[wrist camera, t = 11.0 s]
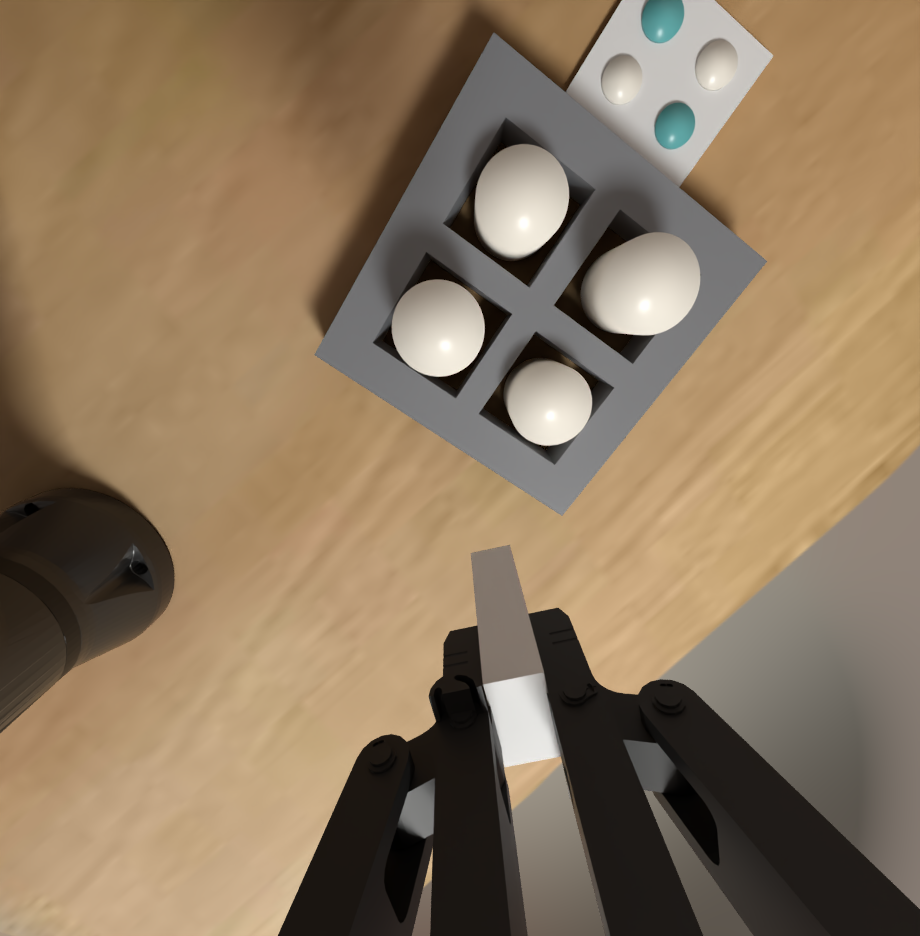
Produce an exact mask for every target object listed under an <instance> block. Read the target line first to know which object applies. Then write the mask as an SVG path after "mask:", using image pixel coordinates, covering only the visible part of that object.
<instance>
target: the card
mask: <svg viewBox="0 0 920 936" xmlns="http://www.w3.org/2000/svg"><path fill="white" fill-rule="evenodd" d="M772 57H773V55H772V54H771V53H770V52H769V51H768V50H767V49H766V48H765V47H764V46H763V45H761V44H760V43H759V42H758V41H757V40H756V39H755V38H754V37H753V36H752V35H751V34H750V33H749V32H748V31H747V30H745V29H744V28H743V27H742V26H741V25H740V24H739V23H738V22H737V21H736V20H735V19H734V18H733V17H732V16H731V15H730V14H728V13H727V12H726V11H725V10H724V9H723V8H722V7H721V6H720V5H719V4H718V3H717V2H716V1H715V0H622V1H621V3H620V4H619V6H618V8H617V9H616V11H615V12H614V14H613V16H612V17H611V19H610V21H609V22H608V24H607V25H606V27H605V29H604V30H603V32H602V34H601V35H600V37H599V38H598V40H597V42H596V43H595V45H594V47H593V48H592V50H591V51H590V53H589V55H588V56H587V58H586V60H585V61H584V63H583V64H582V66H581V68H580V69H579V71H578V73H577V74H576V76H575V77H574V79H573V81H572V82H571V84H570V86H569V87H568V89H567V90H566V93H567V94H568V95H569V96H570V97H572V98H573V99H574V100H575V101H576V102H578V103H579V104H580V105H581V106H582V107H584V108H585V109H586V110H587V111H588V112H590V113H591V114H592V115H593V116H594V117H596V118H597V119H598V120H599V121H600V122H602V123H603V124H604V125H605V126H606V127H607V128H609V129H610V130H611V131H612V132H613V133H615V134H616V135H617V136H618V137H619V138H621V139H622V140H623V141H624V142H625V143H627V144H628V145H629V146H630V147H631V148H633V149H634V150H635V151H636V152H637V153H639V154H640V155H641V156H642V157H643V158H645V159H646V160H647V161H648V162H649V163H650V164H652V165H653V166H654V167H655V168H656V169H658V170H659V171H660V172H661V173H662V174H664V175H665V176H666V177H667V178H668V179H670V180H671V181H672V182H673V183H674V184H676V185H677V186H678V187H680V185H681V184H682V182H683V181H684V180H685V178H686V177H687V176H688V174H689V173H690V171H691V170H692V169H693V167H694V166H695V164H696V163H697V162H698V160H699V159H700V157H701V156H702V155H703V153H704V152H705V150H706V149H707V148H708V146H709V145H710V143H711V142H712V141H713V139H714V138H715V137H716V135H717V134H718V132H719V131H720V130H721V128H722V127H723V125H724V124H725V123H726V121H727V120H728V118H729V117H730V116H731V114H732V113H733V111H734V110H735V109H736V107H737V106H738V104H739V103H740V102H741V100H742V99H743V97H744V96H745V95H746V93H747V92H748V91H749V89H750V88H751V86H752V85H753V84H754V82H755V81H756V79H757V78H758V77H759V75H760V74H761V72H762V71H763V70H764V68H765V67H766V65H767V64H768V63H769V61H770V60H771V58H772Z"/></svg>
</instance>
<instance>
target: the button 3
mask: <svg viewBox="0 0 920 936" xmlns="http://www.w3.org/2000/svg"><path fill="white" fill-rule="evenodd" d="M503 398H504V403H505V407H506V409H507V411H508V413H509V416H510V418H511V420H512V422H513V424H514V426H515V428H516V429H517V430H518V432H519V433H520V434H521V435H522V436H523V437H525V438H526V439H527V440H529V441H531V442H533V443H536V444H539V445H558V444H562V443H564V442H567V441H568V440H570V439H572V438H573V437H575V436H576V435H577V434H578V433H579V432H580V431H581V430H582V429H583V428H584V426H585V425H586V423H587V421H588V419H589V417H590V414H591V409H592V396H591V391H590V388H589V386H588V384H587V382H586V381H585V379H584V378H583V377H582V376H581V375H580V374H579V373H578V372H577V371H575V370H574V369H572V368H570V367H568V366H565V365H563V364H561V363H558V362H556V361H554V360H551V359H548V358H533V359H529V360H527V361H524V362H523V363H521V364H519V365H518V366H517V367H516V368H515V369H514V370H513V371H512V372H511V373H510V375H509V376H508V378H507V380H506V382H505V386H504V391H503Z"/></svg>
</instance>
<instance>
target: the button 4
mask: <svg viewBox="0 0 920 936" xmlns="http://www.w3.org/2000/svg"><path fill="white" fill-rule="evenodd" d="M699 287H700V268H699V263H698V260H697V258H696V256H695V254H694V252H693V250H692V249H691V248H690V246H689V245H688V244H687V243H686V242H685V241H683V240H682V239H680V238H679V237H677V236H675V235H672V234H669V233H663V232H653V233H647V234H643V235H641V236H638V237H636V238H634V239H632V240H630V241H628V242H626V243H624V244H622V245H620V246H618V247H616V248H614V249H612V250H610V251H608V252H606V253H604V254H603V255H601V256H600V257H599V258H597V259H596V260H595V261H594V262H593V263H592V265H591V266H590V267H589V269H588V270H587V272H586V274H585V276H584V279H583V282H582V286H581V303H582V307H583V310H584V312H585V315H586V316H587V318H588V319H589V320H590V322H591V323H592V324H594V325H595V326H596V327H597V328H599V329H601V330H603V331H606V332H610V333H619V334H633V335H654V334H658V333H662V332H664V331H667V330H668V329H670V328H672V327H674V326H675V325H676V324H678V323H679V322H680V321H681V320H682V319H683V318H684V317H685V316H686V315H687V314H688V312H689V311H690V309H691V308H692V306H693V304H694V302H695V300H696V298H697V295H698V291H699Z"/></svg>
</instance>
